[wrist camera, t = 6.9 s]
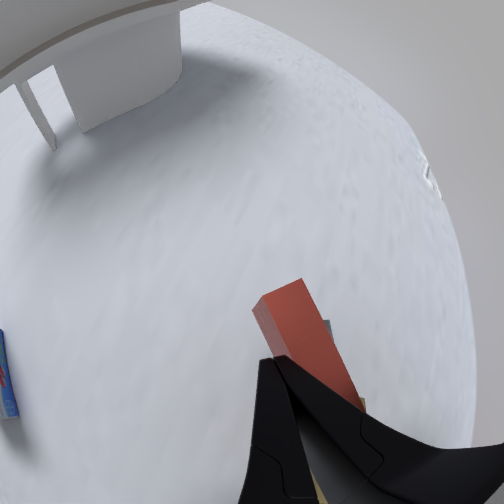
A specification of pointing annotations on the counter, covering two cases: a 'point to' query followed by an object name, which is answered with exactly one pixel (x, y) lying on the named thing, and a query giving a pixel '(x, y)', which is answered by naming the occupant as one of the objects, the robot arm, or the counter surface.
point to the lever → (303, 337)
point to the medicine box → (6, 388)
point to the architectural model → (92, 53)
